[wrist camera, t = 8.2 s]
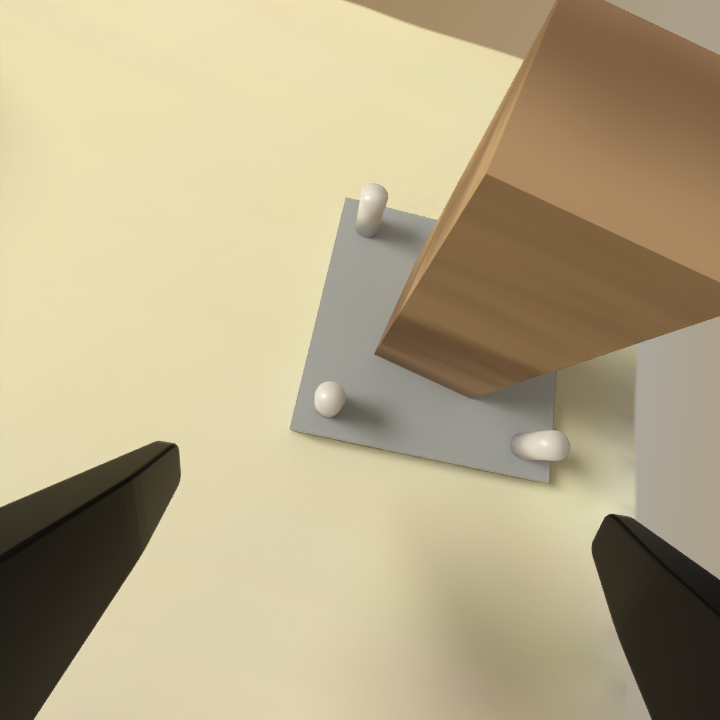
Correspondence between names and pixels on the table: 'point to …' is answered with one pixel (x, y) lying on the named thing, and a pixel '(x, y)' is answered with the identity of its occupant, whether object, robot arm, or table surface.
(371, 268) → the peg stand
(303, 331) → the table surface
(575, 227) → the walnut block
